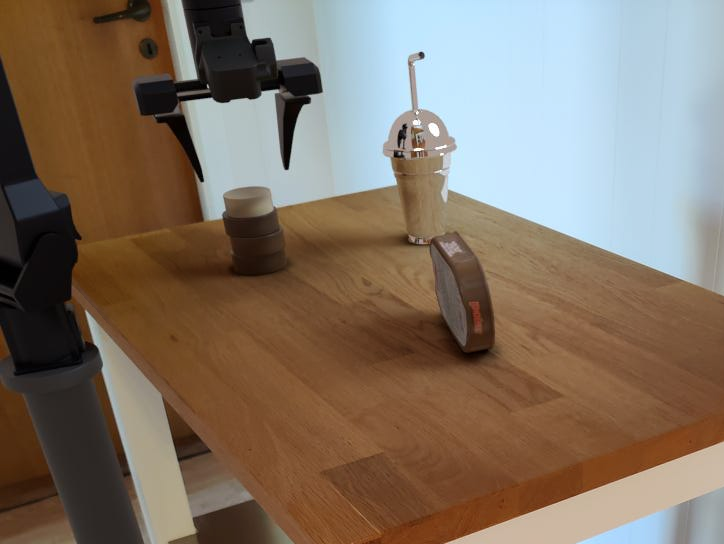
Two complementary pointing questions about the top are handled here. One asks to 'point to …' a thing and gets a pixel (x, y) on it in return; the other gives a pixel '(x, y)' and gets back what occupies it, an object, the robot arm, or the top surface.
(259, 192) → the birch chip
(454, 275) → the tin
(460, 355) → the top surface
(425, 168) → the cup with straw
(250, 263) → the chip pile
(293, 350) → the top surface
